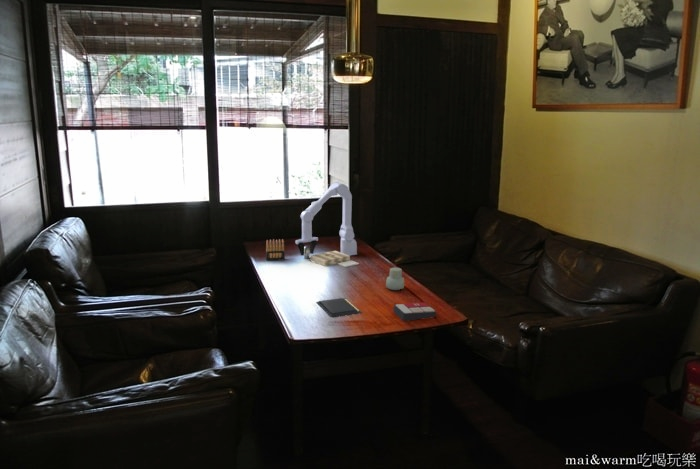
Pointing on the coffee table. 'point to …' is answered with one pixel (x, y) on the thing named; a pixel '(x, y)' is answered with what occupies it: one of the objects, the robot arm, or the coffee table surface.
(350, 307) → the dark grey flat slab
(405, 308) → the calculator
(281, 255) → the ammunition clip
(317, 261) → the socket block
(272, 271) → the coffee table surface
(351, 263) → the mat
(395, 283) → the air freshener
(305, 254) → the metal cylinder
